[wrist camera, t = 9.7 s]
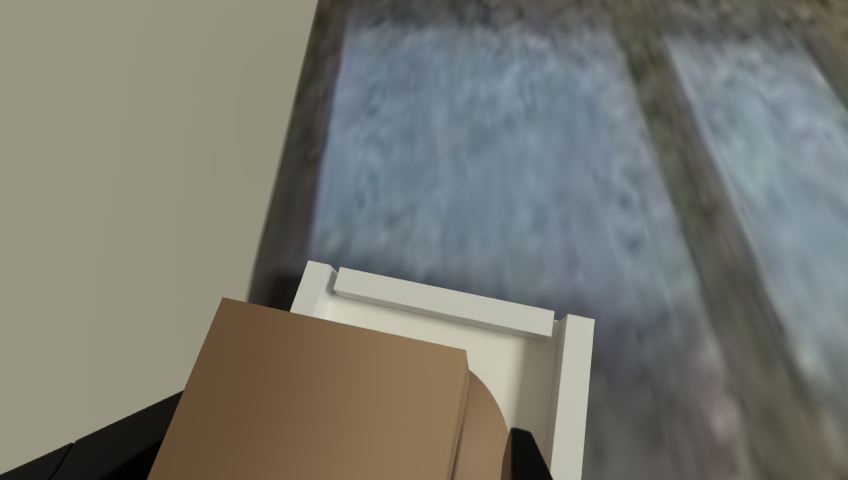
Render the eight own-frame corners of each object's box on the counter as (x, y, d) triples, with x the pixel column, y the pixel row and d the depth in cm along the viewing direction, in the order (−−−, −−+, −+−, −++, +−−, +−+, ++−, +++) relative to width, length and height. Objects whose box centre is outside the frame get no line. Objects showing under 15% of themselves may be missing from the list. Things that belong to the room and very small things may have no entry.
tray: (542, 680, 14) (559, 739, 11) (230, 566, 16) (187, 594, 13) (577, 331, 18) (594, 319, 15) (327, 278, 20) (308, 260, 17)
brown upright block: (520, 374, 16) (627, 298, 5) (492, 586, 14) (577, 1411, 2) (357, 338, 17) (147, 213, 6) (304, 525, 15) (-201, 877, 4)
